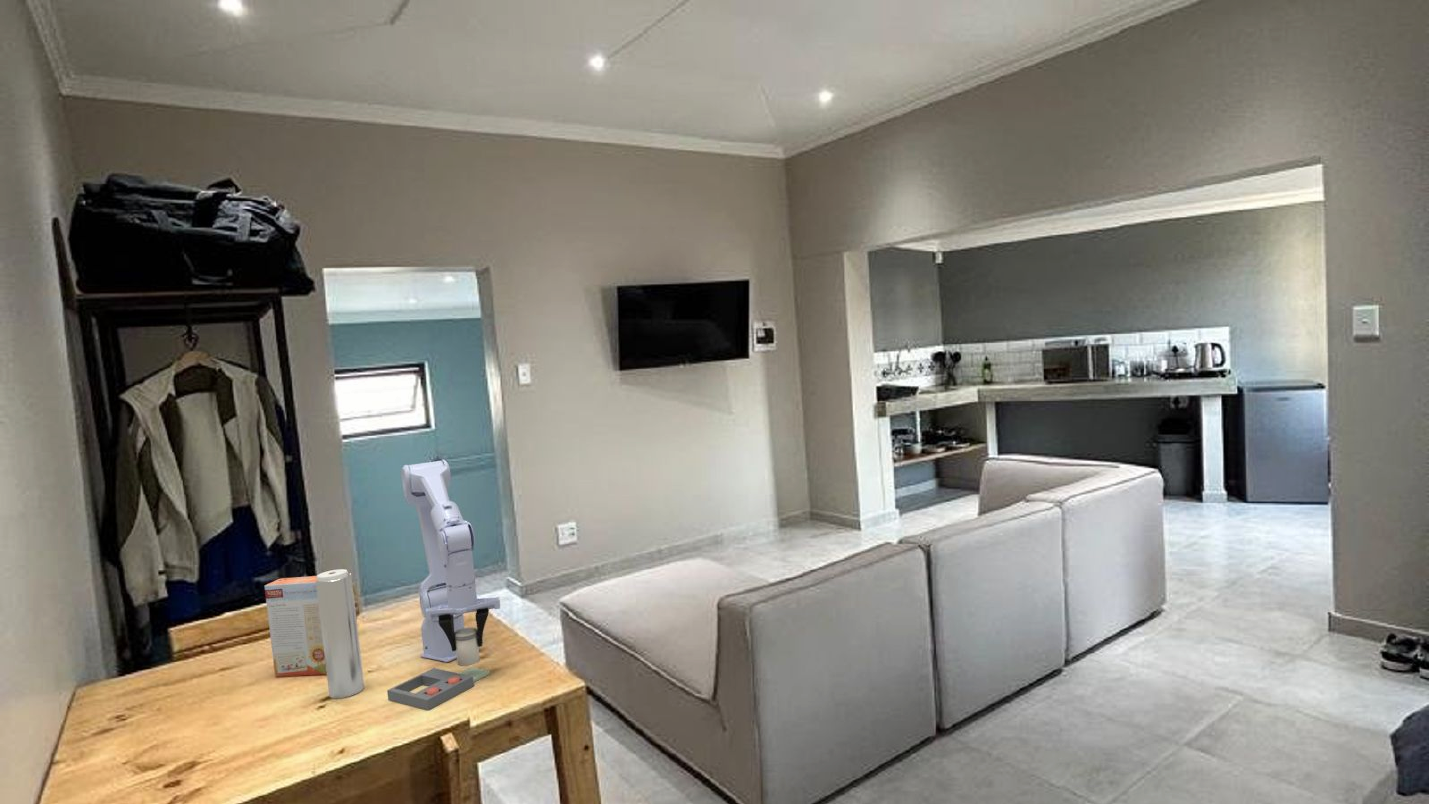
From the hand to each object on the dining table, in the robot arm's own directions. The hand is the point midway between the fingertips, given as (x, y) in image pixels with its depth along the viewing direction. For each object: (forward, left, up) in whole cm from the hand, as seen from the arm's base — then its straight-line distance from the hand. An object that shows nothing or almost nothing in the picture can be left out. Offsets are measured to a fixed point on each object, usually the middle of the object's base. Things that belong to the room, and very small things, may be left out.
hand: (467, 647), depth 154 cm
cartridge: (0, 0, -3) cm, 3 cm away
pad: (0, 0, -6) cm, 6 cm away
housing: (-2, -8, -6) cm, 11 cm away
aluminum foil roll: (-20, -15, -7) cm, 26 cm away
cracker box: (-39, -11, -7) cm, 41 cm away
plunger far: (+2, -6, -6) cm, 9 cm away
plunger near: (+2, -11, -6) cm, 13 cm away
